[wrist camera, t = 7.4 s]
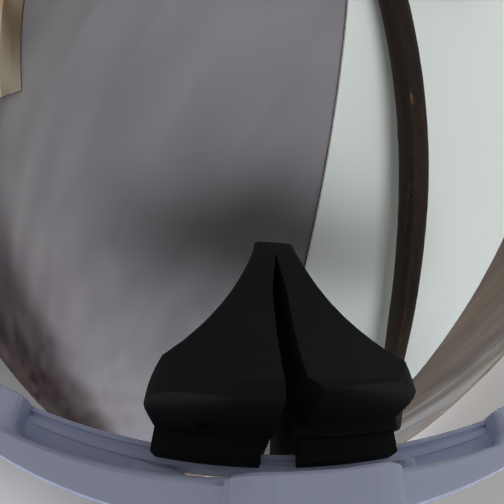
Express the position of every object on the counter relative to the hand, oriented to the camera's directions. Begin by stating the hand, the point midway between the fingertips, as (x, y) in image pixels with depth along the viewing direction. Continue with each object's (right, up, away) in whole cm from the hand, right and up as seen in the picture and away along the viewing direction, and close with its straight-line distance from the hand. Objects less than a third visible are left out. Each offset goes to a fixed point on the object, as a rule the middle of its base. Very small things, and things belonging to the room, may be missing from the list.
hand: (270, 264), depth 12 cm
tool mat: (+8, +1, +2) cm, 8 cm away
